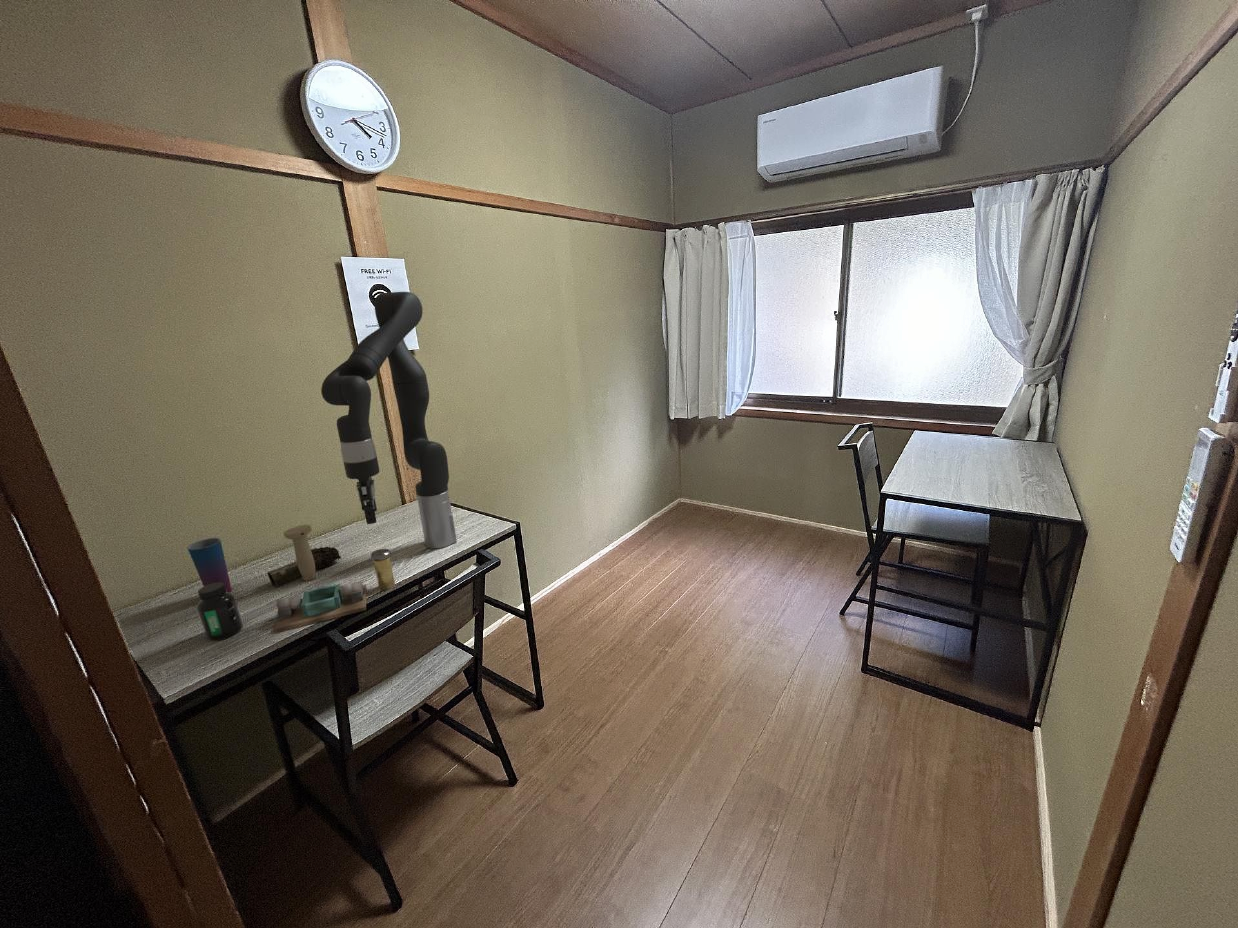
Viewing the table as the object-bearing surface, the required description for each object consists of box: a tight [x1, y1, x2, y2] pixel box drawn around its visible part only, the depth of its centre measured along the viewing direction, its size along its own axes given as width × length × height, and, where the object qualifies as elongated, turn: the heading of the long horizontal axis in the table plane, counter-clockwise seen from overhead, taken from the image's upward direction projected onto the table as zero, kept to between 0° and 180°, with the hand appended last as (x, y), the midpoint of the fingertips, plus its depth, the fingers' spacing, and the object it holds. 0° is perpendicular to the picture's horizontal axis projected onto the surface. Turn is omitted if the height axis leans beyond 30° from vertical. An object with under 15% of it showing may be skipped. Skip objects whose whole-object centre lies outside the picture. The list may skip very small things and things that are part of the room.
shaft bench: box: [274, 580, 368, 633], centre depth 125 cm, size 19×12×5 cm, turn 115°
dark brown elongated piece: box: [267, 546, 342, 588], centre depth 144 cm, size 18×7×6 cm, turn 140°
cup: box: [187, 537, 232, 594], centre depth 133 cm, size 7×7×15 cm
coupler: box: [370, 548, 396, 591], centre depth 134 cm, size 5×5×10 cm
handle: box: [283, 524, 317, 582], centre depth 139 cm, size 5×6×15 cm
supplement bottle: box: [196, 582, 244, 642], centre depth 116 cm, size 7×7×12 cm
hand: (372, 517), depth 129 cm, fingers open, 8 cm apart
